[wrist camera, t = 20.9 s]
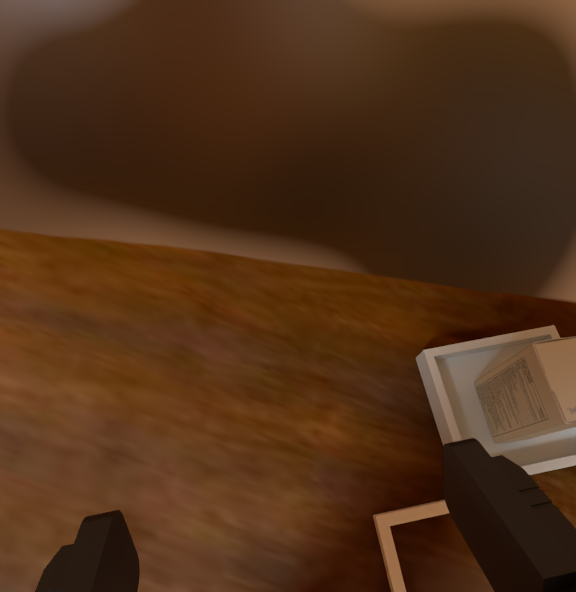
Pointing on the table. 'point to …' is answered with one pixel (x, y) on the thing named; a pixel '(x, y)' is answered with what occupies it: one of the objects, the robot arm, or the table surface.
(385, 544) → the holder
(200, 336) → the table surface
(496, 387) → the skincare box
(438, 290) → the table surface
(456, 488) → the robot arm
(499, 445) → the tray
